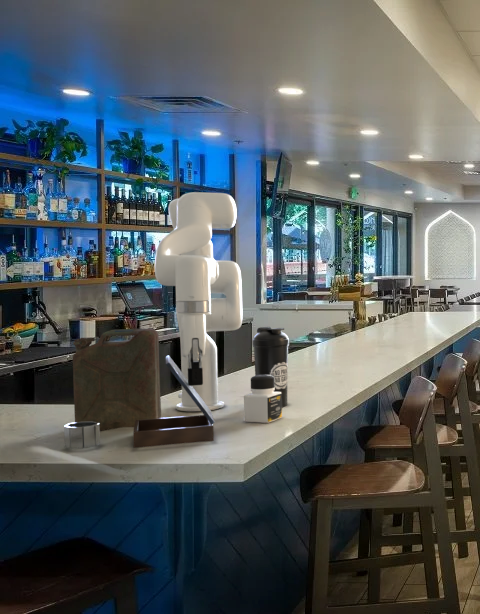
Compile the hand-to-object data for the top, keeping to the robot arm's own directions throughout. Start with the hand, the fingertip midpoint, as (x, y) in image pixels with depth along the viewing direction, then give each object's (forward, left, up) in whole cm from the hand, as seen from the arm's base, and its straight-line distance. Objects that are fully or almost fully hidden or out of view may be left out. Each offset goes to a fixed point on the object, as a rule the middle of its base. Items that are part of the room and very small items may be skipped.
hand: (195, 384), depth 188 cm
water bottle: (-20, +37, -13) cm, 44 cm away
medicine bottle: (-5, +23, -13) cm, 27 cm away
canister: (-27, -4, -13) cm, 31 cm away
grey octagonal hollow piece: (-12, -20, -13) cm, 27 cm away
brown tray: (-2, -4, -13) cm, 14 cm away
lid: (-1, -1, -1) cm, 2 cm away
